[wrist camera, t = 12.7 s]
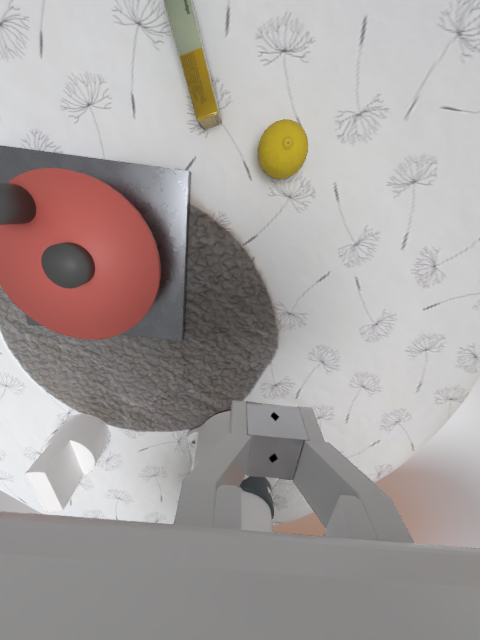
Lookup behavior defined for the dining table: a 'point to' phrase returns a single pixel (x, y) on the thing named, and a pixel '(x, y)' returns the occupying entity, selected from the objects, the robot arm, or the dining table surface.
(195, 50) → the medication box
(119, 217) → the handwheel
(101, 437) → the base with upright slab
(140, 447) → the dining table surface
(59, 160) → the valve stand
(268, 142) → the lemon
